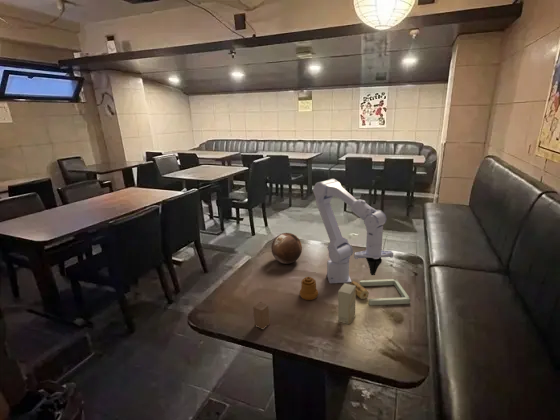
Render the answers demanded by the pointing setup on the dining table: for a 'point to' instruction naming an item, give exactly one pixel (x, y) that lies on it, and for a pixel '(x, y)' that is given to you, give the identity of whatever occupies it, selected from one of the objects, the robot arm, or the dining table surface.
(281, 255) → the wooden sphere
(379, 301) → the pale grey flat frame
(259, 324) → the wooden block
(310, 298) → the ornamental finial
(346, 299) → the skincare box
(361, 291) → the carved stone cylinder
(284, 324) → the dining table surface
